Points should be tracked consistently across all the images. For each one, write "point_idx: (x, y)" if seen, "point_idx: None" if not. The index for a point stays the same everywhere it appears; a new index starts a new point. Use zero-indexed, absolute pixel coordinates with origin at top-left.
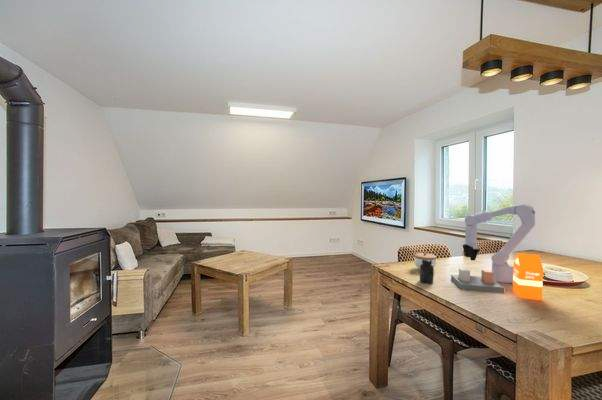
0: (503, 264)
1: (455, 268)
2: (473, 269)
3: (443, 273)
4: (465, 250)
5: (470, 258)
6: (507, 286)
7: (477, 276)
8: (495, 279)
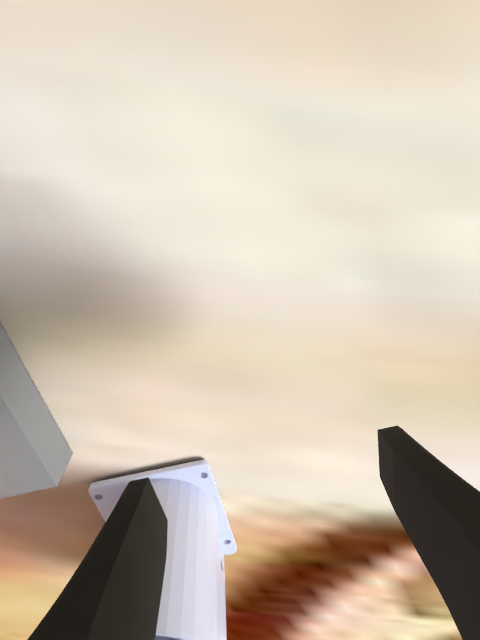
0: None
1: (455, 210)
2: (449, 379)
3: (125, 6)
4: (471, 551)
5: (126, 501)
6: (27, 530)
7: (6, 404)
8: (118, 499)
